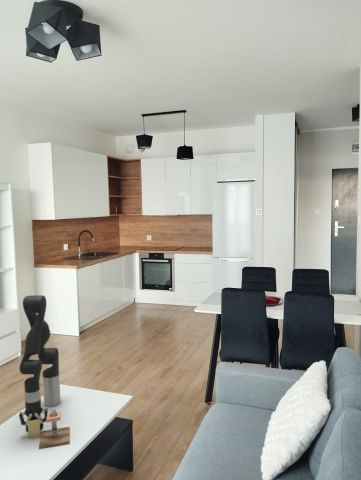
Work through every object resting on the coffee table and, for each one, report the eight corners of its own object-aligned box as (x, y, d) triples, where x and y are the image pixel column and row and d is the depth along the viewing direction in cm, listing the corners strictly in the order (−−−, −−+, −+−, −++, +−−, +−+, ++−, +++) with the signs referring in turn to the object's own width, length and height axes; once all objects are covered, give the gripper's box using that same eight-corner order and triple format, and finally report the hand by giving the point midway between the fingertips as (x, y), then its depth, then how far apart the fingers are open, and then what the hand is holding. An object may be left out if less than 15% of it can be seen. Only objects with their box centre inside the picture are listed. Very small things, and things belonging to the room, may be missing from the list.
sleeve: (29, 432, 210) (28, 415, 209) (41, 430, 211) (40, 413, 210) (28, 438, 204) (27, 421, 204) (40, 436, 206) (39, 419, 205)
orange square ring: (47, 416, 205) (47, 413, 205) (60, 414, 206) (60, 411, 206) (46, 422, 199) (46, 419, 199) (60, 420, 200) (60, 417, 200)
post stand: (41, 433, 208) (39, 407, 207) (69, 428, 212) (68, 402, 211) (39, 448, 195) (37, 420, 194) (69, 443, 198) (68, 416, 197)
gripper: (48, 393, 212) (50, 424, 213) (18, 397, 208) (20, 429, 209) (47, 399, 204) (49, 432, 206) (16, 404, 201) (18, 437, 202)
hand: (34, 430), depth 207 cm, fingers closed on sleeve, 5 cm apart
